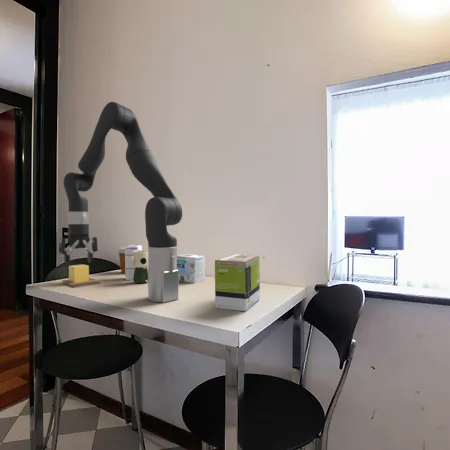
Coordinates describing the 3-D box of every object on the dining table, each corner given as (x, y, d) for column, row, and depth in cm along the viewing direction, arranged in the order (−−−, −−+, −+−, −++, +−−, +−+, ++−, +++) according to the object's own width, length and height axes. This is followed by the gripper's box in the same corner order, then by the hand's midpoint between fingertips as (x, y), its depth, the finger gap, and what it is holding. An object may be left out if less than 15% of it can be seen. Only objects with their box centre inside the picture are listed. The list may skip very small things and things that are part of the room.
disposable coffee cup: (114, 274, 145) (114, 248, 145) (123, 270, 155) (123, 246, 154) (133, 275, 144) (133, 249, 143) (141, 271, 153) (141, 247, 153)
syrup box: (138, 280, 132) (138, 246, 131) (124, 280, 132) (124, 246, 131) (142, 277, 137) (142, 245, 137) (129, 277, 137) (129, 244, 137)
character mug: (137, 286, 120) (137, 252, 120) (124, 284, 124) (124, 251, 124) (157, 281, 130) (157, 250, 130) (144, 279, 134) (144, 249, 133)
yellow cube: (88, 280, 125) (88, 265, 125) (74, 282, 121) (74, 267, 121) (82, 278, 129) (82, 264, 129) (68, 280, 125) (68, 265, 125)
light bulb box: (175, 280, 132) (175, 255, 132) (186, 278, 138) (186, 253, 138) (195, 283, 126) (195, 257, 126) (205, 280, 132) (205, 255, 132)
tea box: (232, 296, 106) (232, 253, 106) (260, 299, 102) (261, 254, 102) (213, 308, 92) (214, 258, 92) (245, 312, 88) (246, 260, 88)
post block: (100, 283, 125) (100, 271, 124) (74, 287, 117) (74, 274, 117) (87, 279, 133) (87, 267, 133) (62, 282, 125) (62, 270, 125)
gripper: (63, 223, 117) (63, 266, 117) (100, 223, 127) (100, 262, 128) (56, 223, 122) (56, 264, 122) (92, 223, 132) (92, 260, 133)
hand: (79, 263), depth 125 cm, fingers open, 8 cm apart
